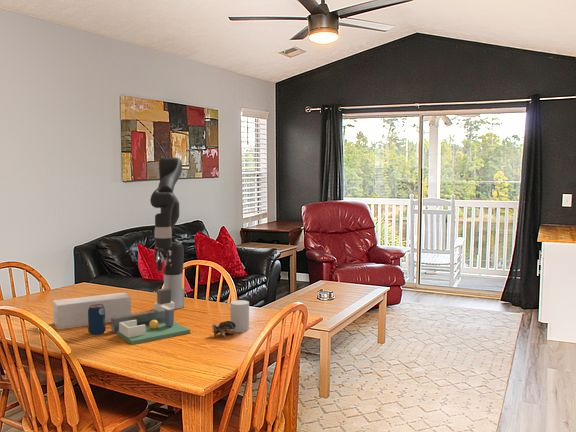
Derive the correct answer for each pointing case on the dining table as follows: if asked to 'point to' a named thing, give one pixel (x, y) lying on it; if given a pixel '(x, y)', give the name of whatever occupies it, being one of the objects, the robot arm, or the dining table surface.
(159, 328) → the pitch
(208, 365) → the dining table surface
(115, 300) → the white ribbed long block
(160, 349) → the dining table surface
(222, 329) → the toy animal figurine
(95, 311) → the soda can
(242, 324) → the cup
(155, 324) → the ball
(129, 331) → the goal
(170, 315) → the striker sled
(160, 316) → the rail
